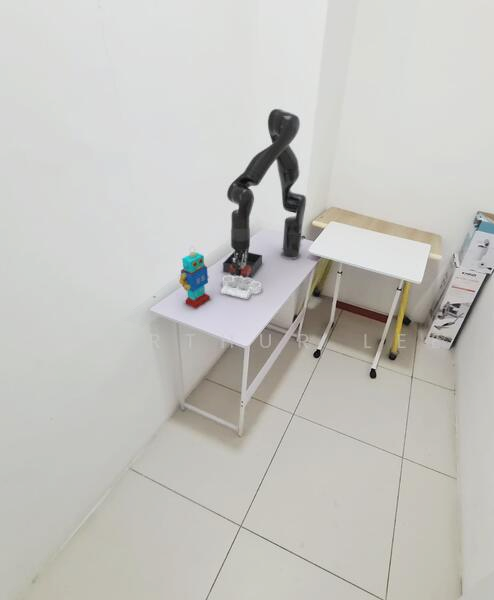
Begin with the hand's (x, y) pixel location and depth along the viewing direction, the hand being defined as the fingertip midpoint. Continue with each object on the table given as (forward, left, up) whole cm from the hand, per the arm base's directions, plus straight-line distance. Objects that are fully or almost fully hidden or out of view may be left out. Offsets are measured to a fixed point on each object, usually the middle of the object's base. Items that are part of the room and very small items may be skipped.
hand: (240, 272), depth 144 cm
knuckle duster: (0, 0, -9) cm, 9 cm away
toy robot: (+15, -13, -9) cm, 22 cm away
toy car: (0, 0, -1) cm, 1 cm away
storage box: (-18, -6, -9) cm, 21 cm away
